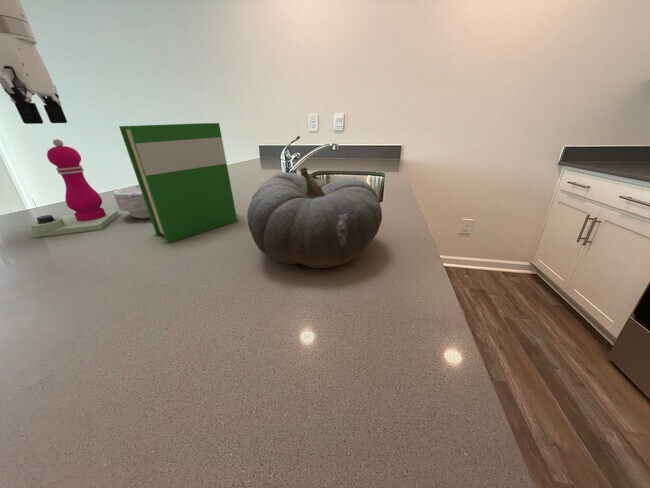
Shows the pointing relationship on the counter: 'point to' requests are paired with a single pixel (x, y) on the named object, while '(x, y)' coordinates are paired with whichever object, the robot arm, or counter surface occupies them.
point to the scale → (71, 225)
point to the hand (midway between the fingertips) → (47, 123)
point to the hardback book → (181, 176)
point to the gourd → (313, 219)
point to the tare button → (45, 219)
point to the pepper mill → (75, 183)
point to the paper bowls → (132, 201)
